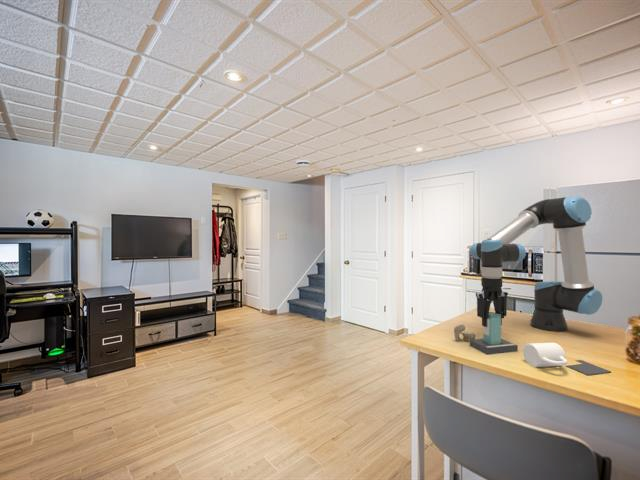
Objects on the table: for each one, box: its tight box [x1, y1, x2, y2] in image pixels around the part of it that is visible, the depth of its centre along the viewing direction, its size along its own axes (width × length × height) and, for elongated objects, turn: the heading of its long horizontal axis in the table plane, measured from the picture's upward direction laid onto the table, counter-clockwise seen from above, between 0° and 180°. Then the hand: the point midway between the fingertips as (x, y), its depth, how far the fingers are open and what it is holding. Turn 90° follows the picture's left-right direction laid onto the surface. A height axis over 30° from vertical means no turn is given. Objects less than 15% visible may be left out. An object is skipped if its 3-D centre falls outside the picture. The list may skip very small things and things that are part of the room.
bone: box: [453, 323, 476, 343], centre depth 135 cm, size 9×6×10 cm
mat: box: [565, 359, 612, 377], centre depth 108 cm, size 10×10×1 cm
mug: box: [522, 342, 569, 368], centre depth 109 cm, size 12×10×8 cm
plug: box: [482, 311, 502, 345], centre depth 126 cm, size 5×5×12 cm
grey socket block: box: [469, 338, 519, 355], centre depth 126 cm, size 14×10×3 cm
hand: (491, 333), depth 126 cm, fingers closed on plug, 4 cm apart
